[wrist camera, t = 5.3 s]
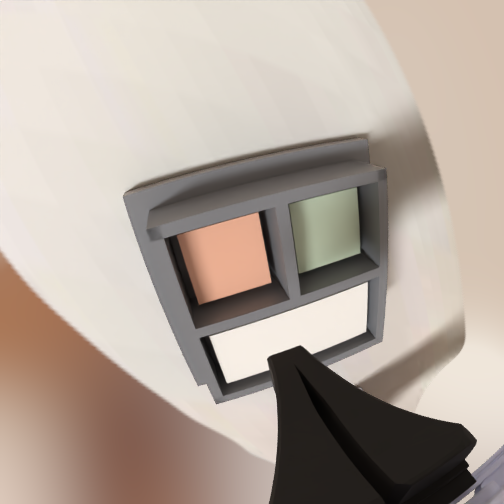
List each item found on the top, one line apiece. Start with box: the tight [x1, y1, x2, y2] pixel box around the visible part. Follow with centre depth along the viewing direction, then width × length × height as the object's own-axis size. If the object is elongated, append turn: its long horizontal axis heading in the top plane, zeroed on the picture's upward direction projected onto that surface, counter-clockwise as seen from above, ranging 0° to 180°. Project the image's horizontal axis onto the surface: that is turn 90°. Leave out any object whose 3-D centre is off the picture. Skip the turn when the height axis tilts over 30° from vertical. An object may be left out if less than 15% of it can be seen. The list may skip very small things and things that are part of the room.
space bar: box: [209, 281, 368, 383], centre depth 18 cm, size 4×10×2 cm, turn 102°
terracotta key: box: [177, 212, 271, 305], centre depth 16 cm, size 4×4×2 cm
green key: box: [288, 187, 360, 273], centre depth 17 cm, size 4×4×2 cm
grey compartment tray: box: [123, 138, 388, 404], centre depth 18 cm, size 14×14×4 cm
